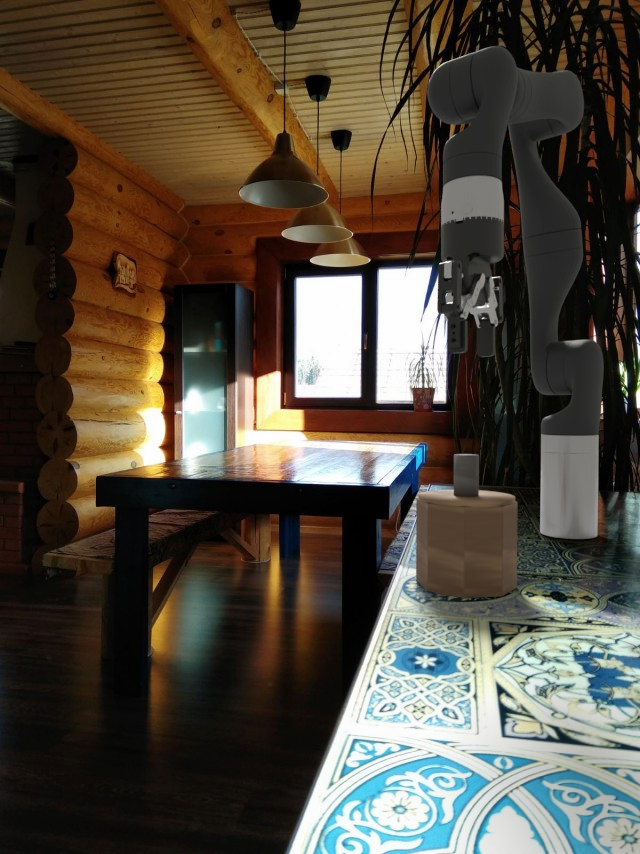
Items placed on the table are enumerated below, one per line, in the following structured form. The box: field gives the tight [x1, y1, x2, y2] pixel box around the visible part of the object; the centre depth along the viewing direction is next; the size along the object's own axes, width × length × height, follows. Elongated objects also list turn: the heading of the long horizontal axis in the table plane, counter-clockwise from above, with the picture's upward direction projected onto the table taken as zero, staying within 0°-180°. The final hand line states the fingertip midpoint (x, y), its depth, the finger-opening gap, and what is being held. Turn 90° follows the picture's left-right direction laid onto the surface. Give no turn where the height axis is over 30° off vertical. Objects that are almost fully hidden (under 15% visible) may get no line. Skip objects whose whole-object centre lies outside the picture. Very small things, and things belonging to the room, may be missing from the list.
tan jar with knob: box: [415, 453, 519, 599], centre depth 80 cm, size 12×12×16 cm
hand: (472, 354), depth 80 cm, fingers open, 8 cm apart
